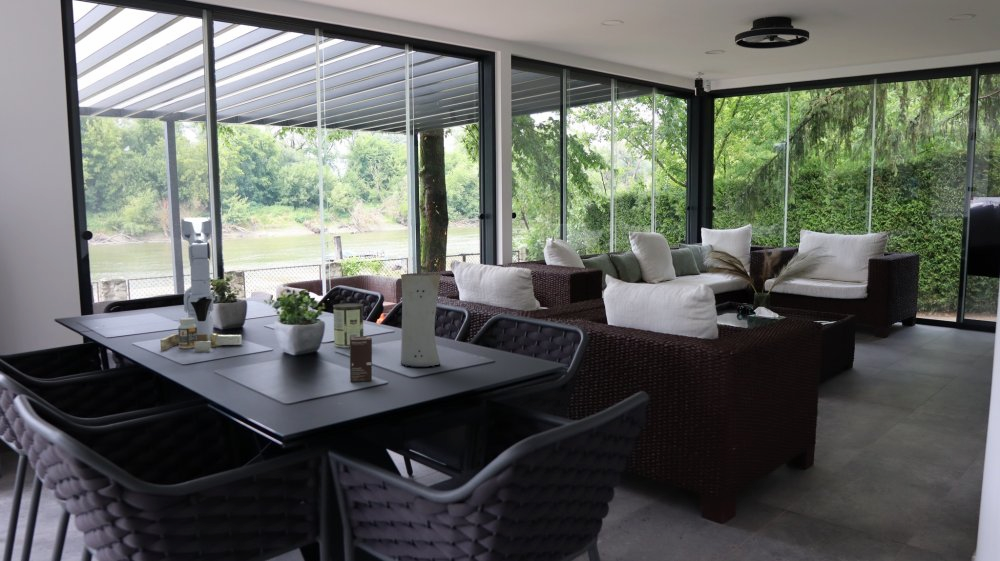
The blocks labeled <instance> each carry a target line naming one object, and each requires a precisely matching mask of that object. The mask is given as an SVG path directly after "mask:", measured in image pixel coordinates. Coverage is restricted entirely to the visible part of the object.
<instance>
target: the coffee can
mask: <svg viewBox="0 0 1000 561" xmlns="http://www.w3.org/2000/svg"><path fill="white" fill-rule="evenodd" d="M332 307H333V335H334V336H333V338H334V341H333V342H334V344H333V346H334V347H335V348H342V349H343V348H345V349H346V348H348V349H350V348H349V347H350V337H364V304H363V303H360V302H359V303H358V302H356V303H355V302H347V303H344V302H343V303H337V304H333V305H332Z"/></svg>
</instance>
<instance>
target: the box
mask: <svg viewBox="0 0 1000 561" xmlns="http://www.w3.org/2000/svg"><path fill="white" fill-rule="evenodd" d="M372 351H373V339H372V336H363V337H350V348H349V382H350V383H355V382H372V381H373V380H372V379H373V375H372V374H373V373H372V372H373V367H372V366H373V365H372V364H373V360H372V359H373V352H372Z"/></svg>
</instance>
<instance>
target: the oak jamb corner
mask: <svg viewBox="0 0 1000 561" xmlns="http://www.w3.org/2000/svg"><path fill="white" fill-rule="evenodd" d="M197 341H209V338H208V334H197ZM176 344H179V333H173V334H170V335H168V336H166V337H164V338H162V339H160V351H167V350H168V349H170V348H172V347H175V346H176Z"/></svg>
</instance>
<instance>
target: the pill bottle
mask: <svg viewBox="0 0 1000 561" xmlns="http://www.w3.org/2000/svg"><path fill="white" fill-rule="evenodd" d="M194 322H195V318H188V317H180V318H179V324H180V325H178V328H177V329H178V331H177V332H178V333H177V334H179V345H178V347H179V348H180V349H182V350H183V349H195V342H196V341H197V326H196V325H195V324H194Z"/></svg>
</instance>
